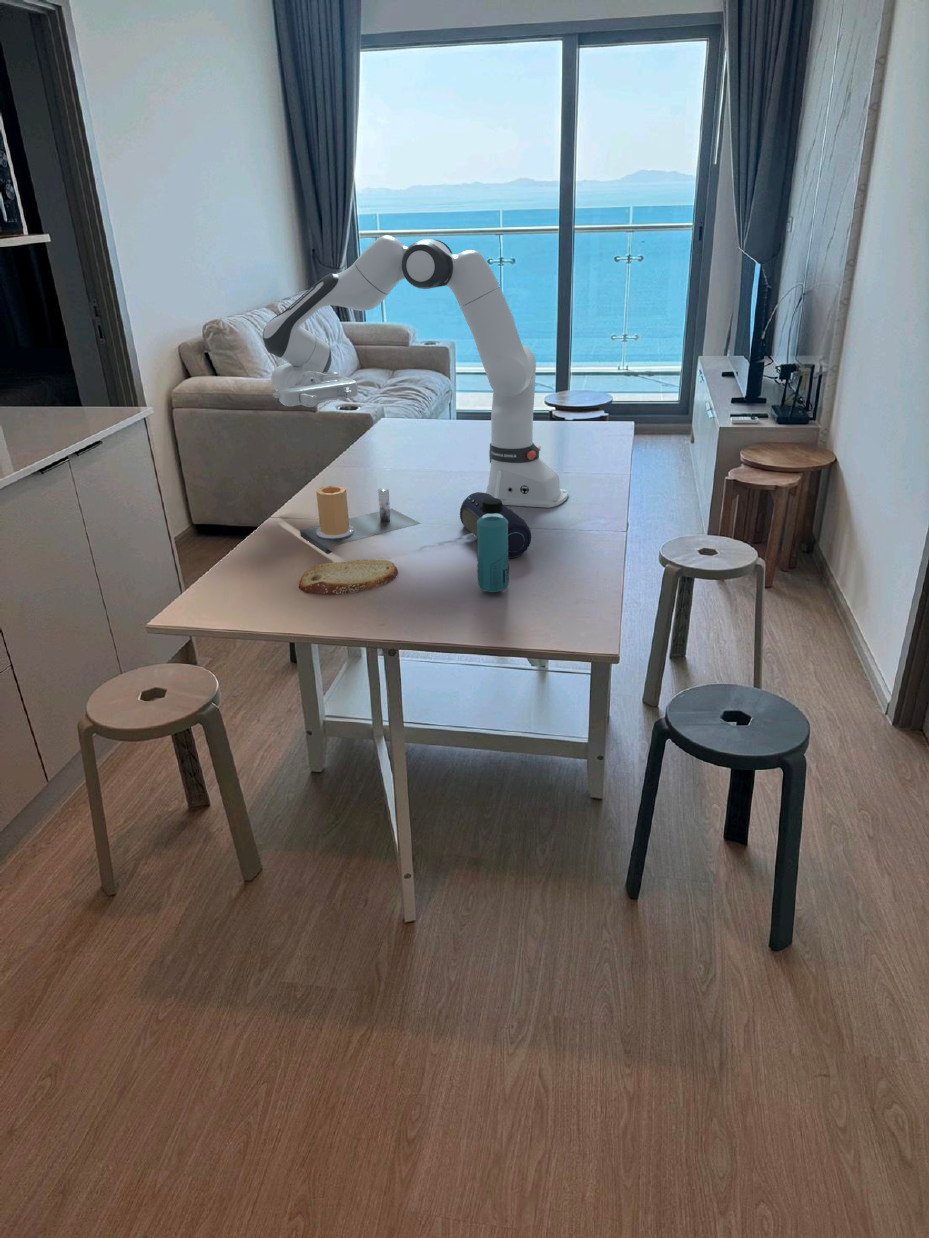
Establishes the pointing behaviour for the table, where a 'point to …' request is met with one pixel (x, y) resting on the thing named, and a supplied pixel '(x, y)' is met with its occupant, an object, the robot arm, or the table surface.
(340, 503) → the sleeve
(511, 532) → the portable speaker
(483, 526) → the beverage bottle
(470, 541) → the table surface
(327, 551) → the board
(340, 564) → the slice of bread
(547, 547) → the table surface
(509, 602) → the table surface
